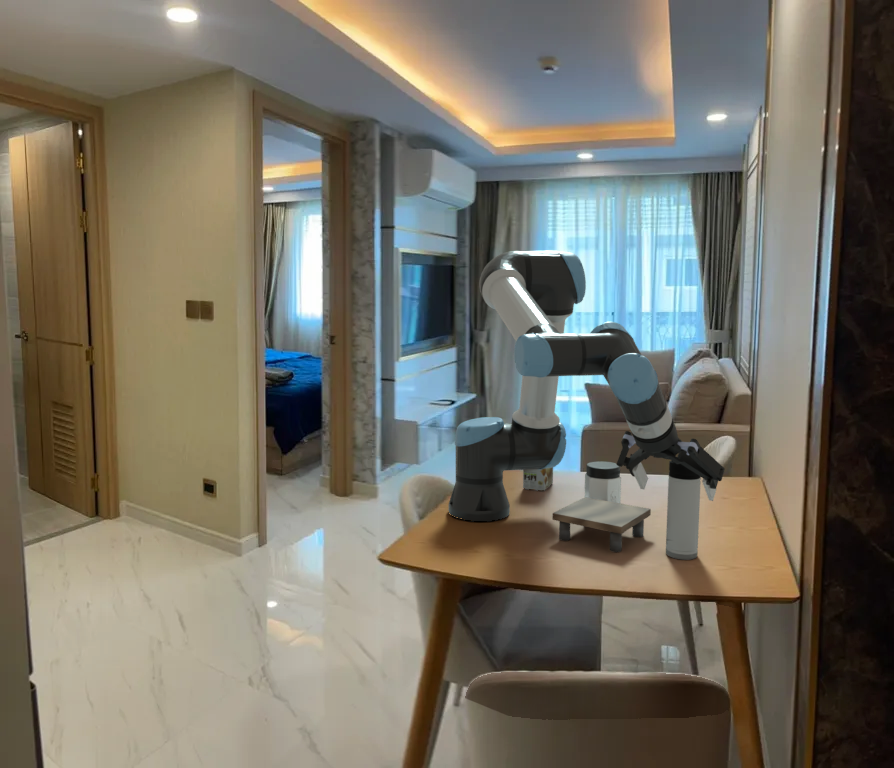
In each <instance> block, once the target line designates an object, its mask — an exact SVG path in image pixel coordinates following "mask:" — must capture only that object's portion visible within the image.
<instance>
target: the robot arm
mask: <svg viewBox="0 0 894 768" xmlns="http://www.w3.org/2000/svg"><path fill="white" fill-rule="evenodd" d="M478 283H479V285H478V286H479V292H480V294H481V297H482V299H483V301H484V302H485V304H486V306H488V307H490V308H491V309H493V310H495V311H496V312H497V314H498V315H499V317H500V319H501V320H502V322H503V323H504V325H505V326H506V328H507V329H508V331H509V333H510V335H512V338H513V339H514V340H515V344H514V349H513V350H514V352H513V353H514V354H513V355H514V358H513V359H514V363H515V367H516V371H517V372H518V373H519V374H520V375H521V376H522V378H521V387H520V400H519V408H518V409H517V410H515V411H514V412H513V413H512V415H511V416H512V417H511V422H507V423H505V422H504V419H502V418H501V417H498V416H490V417H489V416H486V417H485V416H483V417H476V418H472V419H468V420H464V421H462V422H461V423H460V424H458V426H457V428H456V430H455V438H454V445H455V482H454V485H453V486H454V487H453V489H452V492H451V495H450V498H449V502H448V510H447V511H449V513H450V514H451V515H453V516H455V517H458V518H462V519H465V520H472V521H471V522H474V521H487V522H493V521H492V520H495V521H499V520H498V519H500V520H503V519H506V518H508V516H509V515H510V514H511V513H510V512H511V511H510V510H511V507H510V502H509V499H508V495H507V492H506V489H505V486H504V472H505V471H523V470H527V469H538V470H541V469H544V468H553V469H554V468H555V467H557V466H558V465H560V463H561V461H562V460H563V459H564V456H565V453H566V447H567V439H566V436H567V431H566V429H565V428H566V427H565V426H564V424H563V423H562V422H561V420H560V419H561V418H560V417H559V415H557V414H556V413H555V411H556V404H557V403H556V402H557V393H558V385H559V378H560V377H572V376H573V377H575V376H579V377H581V376H583V377H584V376H586V377H587V376H603V378H604V379H605V381H606V382H607V384H608V386H609V387H610V389H611V391H612V393H613V395H614V397H615V398H616V400H617V401H616V402H617V403H618V405H619V407H620V409H621V411H622V413H623V416H624V418H625V420H626V423H627V425H628V428H629V430H630V431H629V430H626V431H624V435H623V437H622V439H621V442H620V443H621V446H622V448H621V451H620V454H619V457H618V459H617V461H616V464H617V465H618V466H620V468H621V467H623V466H624V467H625V468H626V469H627V470H628V471H629V473H630V475H631V476H632V477H633V478H635V480H636V482H637V484H638V486H639V488H640V490H645V489H646V486H647V483H648V481H649V477H648V475H647V472H646V470H645V468H644V465H643V463H642V462H643V460H647V459H649V458H650V457H653V458H656V459H664V460H665V459H666V460H670V461H673V462H674V463H676V464H682V465H683V466H685V467H686V468H688V469H689V470H691V471H693V472H694V473H696V474H697V475H699V476H700V477H701V478H702V479H701V483H702V485H703V488H704V491H705V493H706V496H707V499H708V501H710V502H711V501H712V502H713V501H714V498H715V495H716V493H717V487H718V484H719V482H721V481H722V480H723V476H724V473H725V470H726V468H725V467H724V466H722V464H721V463H719V462H718V461H717V460H716V459H715V458H714V457H713V456H712V455H711V454H709V453H708V452H707V451H706V450H705V449H704V448H703V447H702V446H701V445H700V443H699V441H698V439H696V438H691V439H690V441H682V439H680V438H679V436H678V430H677V427H676V425H675V423H674V419H673V416H672V413H671V412H670V409H669V406H668V404H667V400H666V399H665V396H664V394H663V390H662V388H661V385H660V383H659V379H658V377H659V376H658V374H657V371H656V370H655V369H654V366H653V365H652V362H651V361H650V360H649V358H648V357H647V356H644V355H642V353H641V352H640V349H639V348H638V346H637V344H636V342H635V340H634V337H633V336H632V335H631V334H630V332H628V330H626V328H625V326H623V325H622V324H620V323H618V322H615V321H606V322H604V323H602V324H598V325H596V326H595V327H594V328H593V329H592V330H591V331H590V332H589V333H565V325H566V320H567V318H569V317H570V316H571V315H573V313H574V306H575V305H578V304H580V303H582V302H583V301H584V297H585V295H586V290H587V288H586V287H587V285H586V284H587V282H586V274H585V269H584V266H583V263H582V261H581V259H580V258H579V256H577V254H575V253H573V252H571V251H570V252H569V251H560V250H526V251H525V250H524V251H522V250H509V251H507V252H506V251H505V252H503V253H500V254H498V255H496V256H495V257H494V258H492V259H491V260H490V261H489V262H488V263H486V265H485V266H484V268H483V269H482V272H481V273H480V277H479V282H478ZM634 445H635V446H637V447H638V449H637V450H636V451H635V452H634V453H630V456H629V457H628V456H627V455H628V453H629V451H630V448H632V447H633V446H634ZM449 513H448V514H449ZM509 513H510V514H509ZM505 517H506V518H505ZM502 518H503V519H502ZM465 520H464V521H465Z"/></svg>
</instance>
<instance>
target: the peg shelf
mask: <svg viewBox="0 0 894 768" xmlns="http://www.w3.org/2000/svg"><path fill="white" fill-rule="evenodd" d="M651 513H652V510H651V508H649V507H648V508H647V507H644V506H636V505H631V504H626V503H625V504H624V503H621V502H620V503H616V502H610V501H605V500H599V499H593V498H588V497H585V496H584V497H583V498H581V499H578V500H576V501H574V502H572V503H571V504H569V505H566V506H564V507H562V508H559V509H558V510H555V511H553V512H552V520H553V521H556V522H557V521H558V522H559V524H558V525H559V529H558V534H559V535H558V540H560V541H564V542H565V541H570V540H571V524H572V525H576V526H581V527H586V528H591V529H596V530H601V531H605V532H609V533H610V534H609V551H610V552H612V553H620V552H622V544H623V543H622V541H623V539H622V538H623V534H624V533H625V532H627V531H629V530H630V529H632V533H631V535H632V537H636V538H643V537H644V530H645V529H644V528H645V527H644V526H645V519H647V518H649V517H650V516H651Z"/></svg>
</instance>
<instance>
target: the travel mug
mask: <svg viewBox="0 0 894 768" xmlns="http://www.w3.org/2000/svg"><path fill="white" fill-rule="evenodd" d="M668 465H669V466H668V480H667V485H668V486H667V506H666V507H667V510H666V511H667V512H666V531H665V532H666V534H665V535H666V536H665V538H666V539H665V554H666V555H667V556H668V557H670V558H672V559H675V560H681V561H691V560H694V559H696V558H697V557H698V551H699V550H698V548H699V529H700V528H699V527H700V525H699V524H700V505H701V504H700V502H701V483H702V479H701V478H702V477H700V476H699V475H697V474H696V473H694V472H693V471H691V470H689V469H688V468H686V467H685V466H683V465H682V464H676V463H674V462H673V461H671V460H670V461H669V463H668Z"/></svg>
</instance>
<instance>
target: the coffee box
mask: <svg viewBox="0 0 894 768" xmlns="http://www.w3.org/2000/svg"><path fill="white" fill-rule="evenodd" d="M522 471H523V472H522V476H523V477H522V489H523V488H525V489H524V490H529V489H535V490H534V491H538V490H544V491H546V490H547V489H548V488H549V487H551V486H552V485H553V484H554V467H553V468H544V469H541V470H538V469H527V470H522ZM552 483H553V484H552ZM551 484H552V485H551ZM550 485H551V486H550ZM547 487H548V488H547ZM546 488H547V489H546ZM545 489H546V490H545Z"/></svg>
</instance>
